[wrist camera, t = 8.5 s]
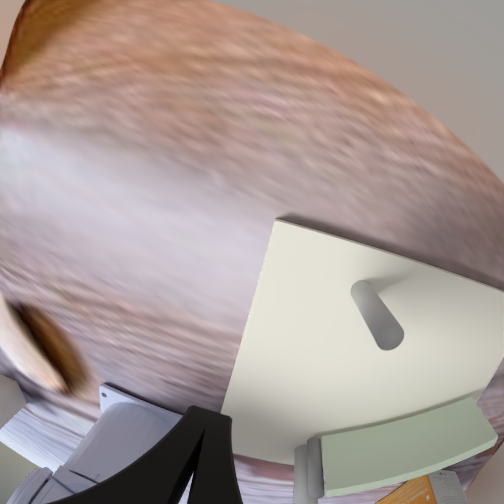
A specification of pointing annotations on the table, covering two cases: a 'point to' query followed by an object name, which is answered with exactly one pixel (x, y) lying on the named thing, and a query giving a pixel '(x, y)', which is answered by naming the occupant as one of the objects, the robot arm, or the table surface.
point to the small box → (429, 490)
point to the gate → (397, 450)
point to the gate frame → (353, 345)
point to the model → (10, 399)
